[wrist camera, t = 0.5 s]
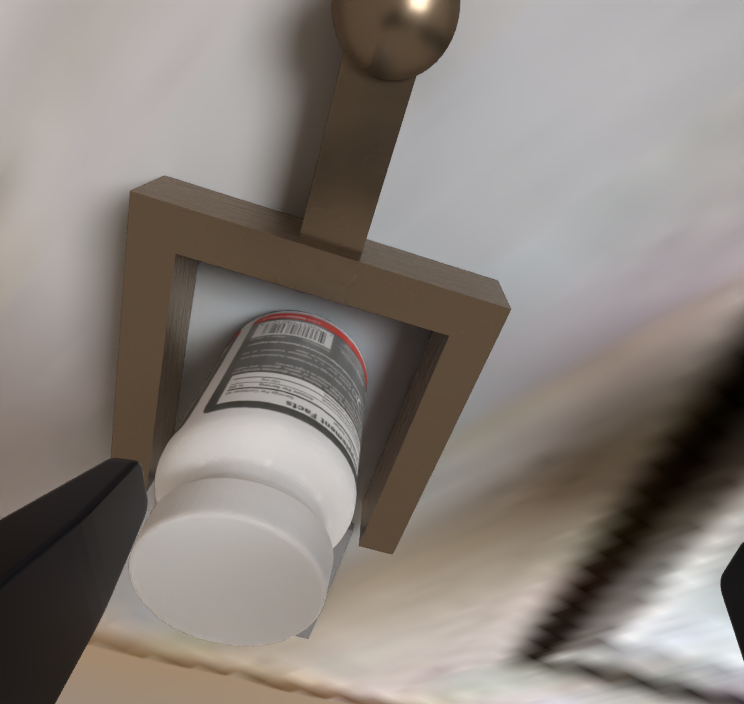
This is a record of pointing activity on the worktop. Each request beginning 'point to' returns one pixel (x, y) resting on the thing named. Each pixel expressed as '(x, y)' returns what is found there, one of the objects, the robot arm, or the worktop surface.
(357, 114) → the ball knob bracket
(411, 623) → the worktop surface
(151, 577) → the pill bottle
